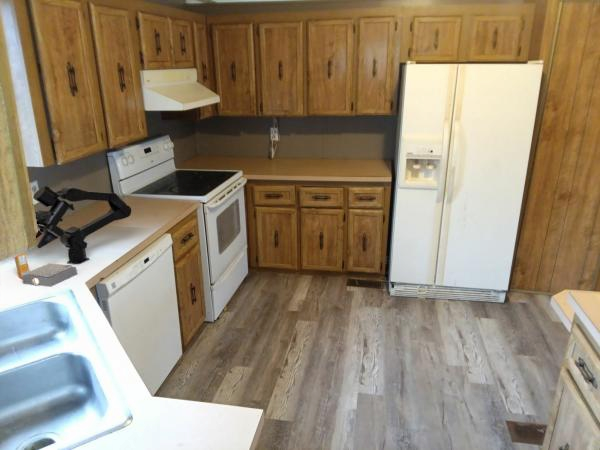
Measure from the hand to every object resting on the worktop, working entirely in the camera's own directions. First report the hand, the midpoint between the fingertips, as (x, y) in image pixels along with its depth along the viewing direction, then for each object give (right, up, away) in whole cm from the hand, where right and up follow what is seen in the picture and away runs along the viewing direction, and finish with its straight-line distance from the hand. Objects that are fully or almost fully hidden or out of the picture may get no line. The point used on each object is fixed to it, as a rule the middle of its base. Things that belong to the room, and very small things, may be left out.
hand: (32, 246), depth 176 cm
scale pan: (+9, -9, -4) cm, 14 cm away
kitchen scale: (+9, -13, -4) cm, 16 cm away
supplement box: (-3, -12, -1) cm, 13 cm away
